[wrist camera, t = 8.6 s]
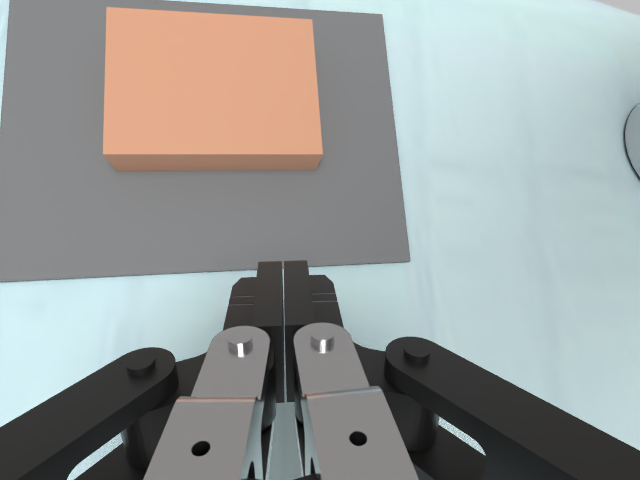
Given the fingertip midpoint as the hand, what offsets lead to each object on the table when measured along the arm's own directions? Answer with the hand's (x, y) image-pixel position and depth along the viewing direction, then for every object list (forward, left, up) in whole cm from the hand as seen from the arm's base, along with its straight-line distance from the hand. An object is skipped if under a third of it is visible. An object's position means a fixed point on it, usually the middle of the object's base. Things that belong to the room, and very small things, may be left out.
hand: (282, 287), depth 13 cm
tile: (0, -9, -11) cm, 14 cm away
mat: (-1, -12, -13) cm, 17 cm away
